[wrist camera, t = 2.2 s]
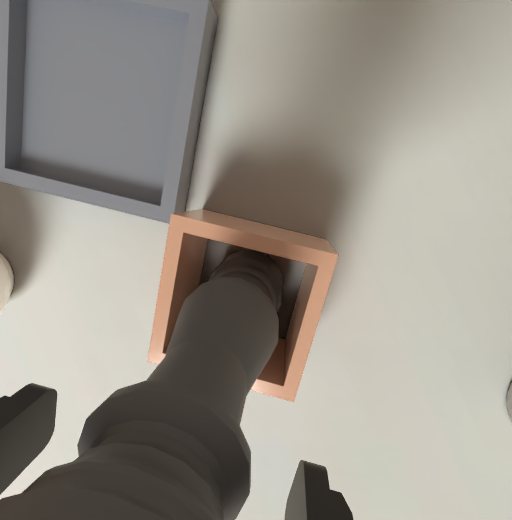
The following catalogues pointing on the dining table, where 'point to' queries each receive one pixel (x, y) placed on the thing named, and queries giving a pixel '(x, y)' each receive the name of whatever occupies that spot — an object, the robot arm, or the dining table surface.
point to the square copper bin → (256, 238)
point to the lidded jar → (5, 281)
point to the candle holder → (175, 415)
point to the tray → (104, 99)
